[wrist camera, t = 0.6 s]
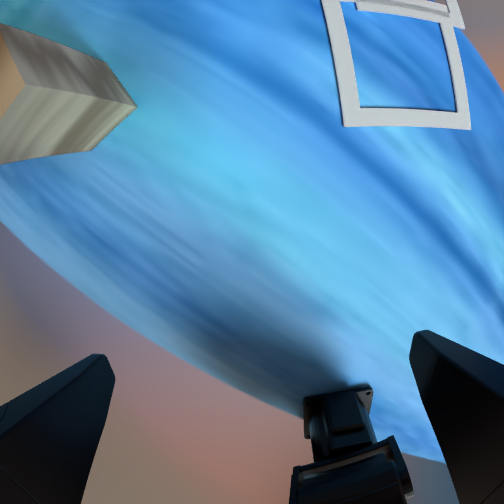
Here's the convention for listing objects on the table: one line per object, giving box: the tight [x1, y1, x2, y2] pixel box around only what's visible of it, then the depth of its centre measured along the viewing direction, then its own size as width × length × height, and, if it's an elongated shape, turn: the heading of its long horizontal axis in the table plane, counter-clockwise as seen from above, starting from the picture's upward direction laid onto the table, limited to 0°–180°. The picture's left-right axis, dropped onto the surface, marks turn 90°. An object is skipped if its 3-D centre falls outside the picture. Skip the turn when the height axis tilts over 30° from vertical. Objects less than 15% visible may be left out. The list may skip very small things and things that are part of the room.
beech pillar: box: [0, 23, 138, 165], centre depth 12 cm, size 4×4×11 cm
